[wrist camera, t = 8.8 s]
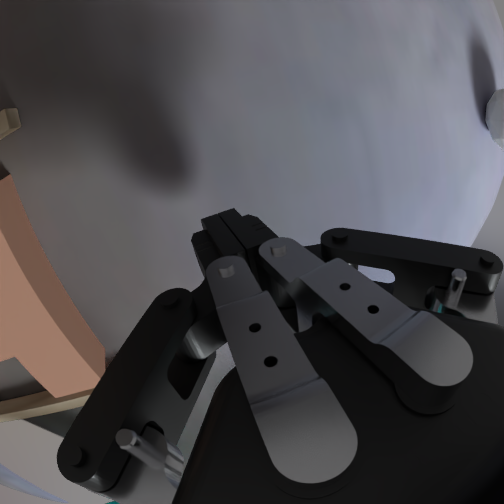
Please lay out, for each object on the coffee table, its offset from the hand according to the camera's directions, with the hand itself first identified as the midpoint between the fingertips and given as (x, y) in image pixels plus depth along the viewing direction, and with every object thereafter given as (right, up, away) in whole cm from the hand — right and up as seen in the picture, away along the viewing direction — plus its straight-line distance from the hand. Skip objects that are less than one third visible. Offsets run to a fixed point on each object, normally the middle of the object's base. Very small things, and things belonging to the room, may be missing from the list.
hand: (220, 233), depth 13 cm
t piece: (-15, -4, -1) cm, 15 cm away
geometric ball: (+28, +15, +8) cm, 32 cm away
